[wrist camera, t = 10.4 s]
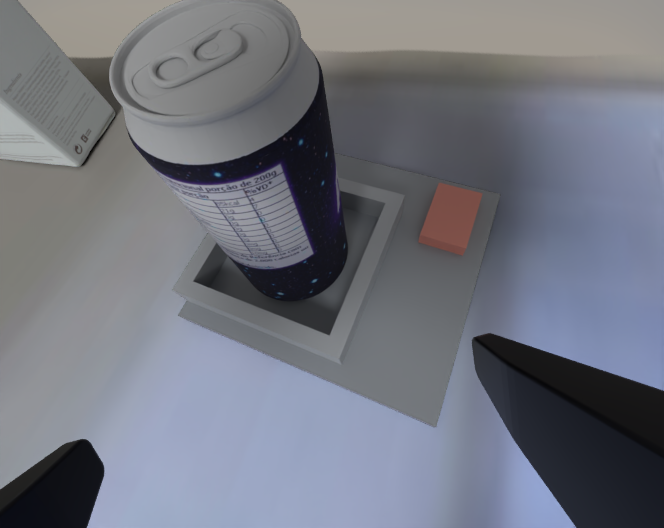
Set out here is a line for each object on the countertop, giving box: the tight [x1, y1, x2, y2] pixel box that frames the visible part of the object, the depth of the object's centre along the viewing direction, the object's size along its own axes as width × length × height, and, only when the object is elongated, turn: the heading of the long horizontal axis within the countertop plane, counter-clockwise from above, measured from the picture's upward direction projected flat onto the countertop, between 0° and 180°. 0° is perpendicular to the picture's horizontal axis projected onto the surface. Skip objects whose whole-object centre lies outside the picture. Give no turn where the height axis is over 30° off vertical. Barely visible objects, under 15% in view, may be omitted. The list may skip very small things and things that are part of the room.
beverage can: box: [109, 0, 348, 301], centre depth 14 cm, size 6×6×12 cm
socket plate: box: [172, 153, 501, 427], centre depth 19 cm, size 14×13×2 cm
